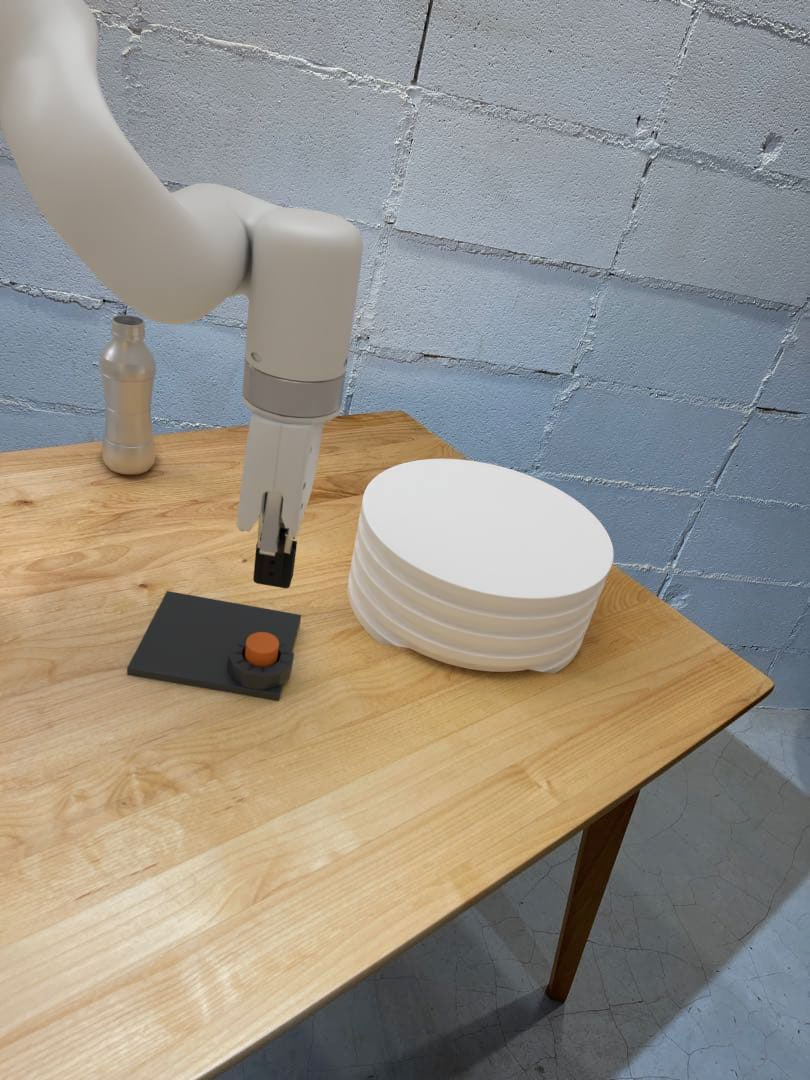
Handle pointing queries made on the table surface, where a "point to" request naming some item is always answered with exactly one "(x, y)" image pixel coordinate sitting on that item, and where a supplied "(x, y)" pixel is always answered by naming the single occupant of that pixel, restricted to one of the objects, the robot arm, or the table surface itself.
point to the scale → (214, 646)
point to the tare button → (261, 649)
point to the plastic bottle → (128, 397)
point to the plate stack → (477, 566)
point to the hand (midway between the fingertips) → (273, 580)
